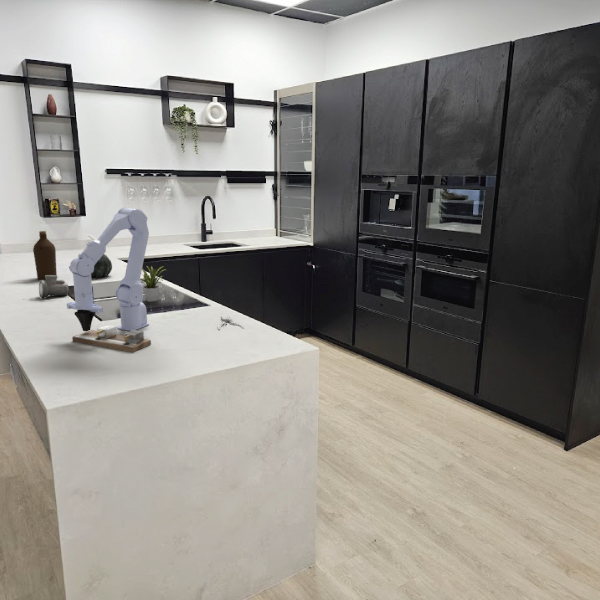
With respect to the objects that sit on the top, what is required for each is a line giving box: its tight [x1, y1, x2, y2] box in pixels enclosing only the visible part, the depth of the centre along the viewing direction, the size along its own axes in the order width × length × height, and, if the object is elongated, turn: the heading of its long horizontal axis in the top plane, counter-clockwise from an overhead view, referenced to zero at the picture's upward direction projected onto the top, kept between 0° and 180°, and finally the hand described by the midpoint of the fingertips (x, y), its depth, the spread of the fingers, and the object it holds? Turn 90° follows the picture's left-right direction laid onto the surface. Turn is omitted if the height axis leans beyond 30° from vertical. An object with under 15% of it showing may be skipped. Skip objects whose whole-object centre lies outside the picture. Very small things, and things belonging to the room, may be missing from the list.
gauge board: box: [72, 329, 152, 353], centre depth 178 cm, size 9×26×4 cm, turn 67°
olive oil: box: [32, 230, 58, 281], centre depth 277 cm, size 11×11×25 cm
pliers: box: [216, 315, 245, 331], centre depth 203 cm, size 10×2×15 cm
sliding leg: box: [96, 325, 117, 339], centre depth 179 cm, size 7×4×3 cm, turn 157°
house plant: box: [140, 265, 168, 303], centre depth 235 cm, size 14×14×16 cm
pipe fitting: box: [38, 275, 70, 299], centre depth 240 cm, size 12×8×10 cm
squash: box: [91, 253, 113, 278], centre depth 285 cm, size 14×15×15 cm
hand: (86, 330), depth 184 cm, fingers closed
